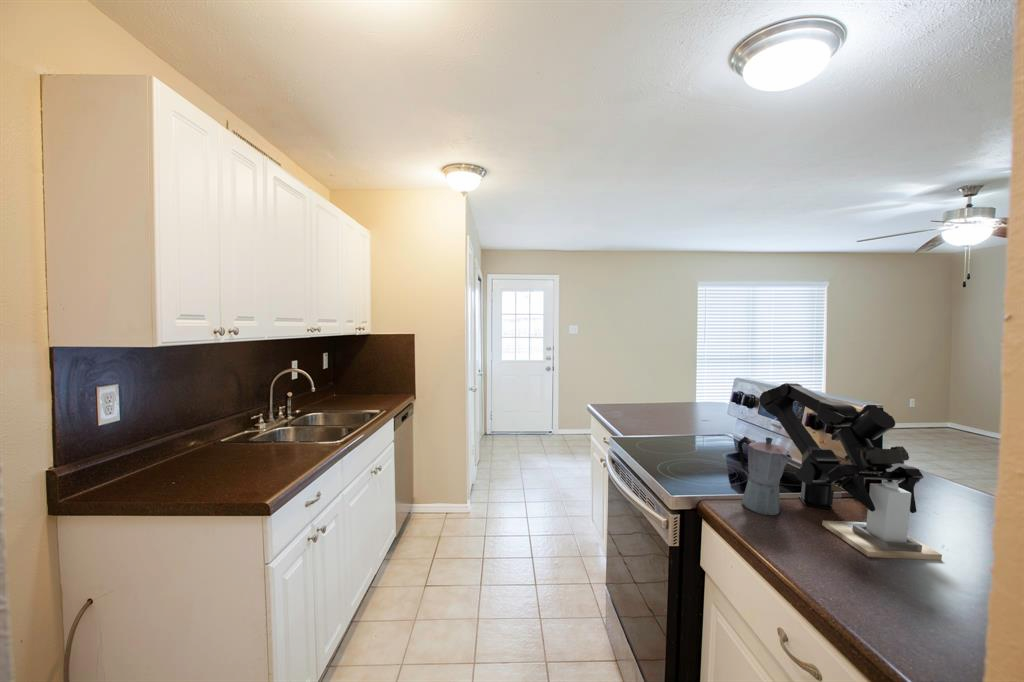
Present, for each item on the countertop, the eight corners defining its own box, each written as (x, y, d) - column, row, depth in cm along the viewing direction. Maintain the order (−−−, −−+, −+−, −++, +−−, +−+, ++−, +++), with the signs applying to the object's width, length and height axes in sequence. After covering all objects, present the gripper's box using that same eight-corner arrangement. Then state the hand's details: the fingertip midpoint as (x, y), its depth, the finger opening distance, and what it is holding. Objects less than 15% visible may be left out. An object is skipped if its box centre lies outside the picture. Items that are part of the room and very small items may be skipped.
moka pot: (776, 523, 106) (782, 446, 105) (721, 499, 120) (726, 430, 119) (798, 516, 111) (804, 442, 109) (743, 493, 124) (747, 427, 123)
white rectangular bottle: (865, 534, 100) (870, 479, 99) (886, 535, 100) (892, 479, 99) (883, 545, 95) (889, 487, 94) (906, 546, 95) (911, 488, 94)
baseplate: (822, 525, 106) (823, 514, 106) (885, 527, 106) (886, 517, 106) (868, 556, 92) (869, 545, 92) (941, 560, 92) (942, 548, 92)
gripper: (841, 431, 100) (876, 496, 89) (920, 434, 100) (964, 500, 89) (814, 452, 108) (844, 514, 98) (887, 455, 108) (925, 518, 98)
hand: (893, 511), depth 95 cm, fingers open, 9 cm apart
